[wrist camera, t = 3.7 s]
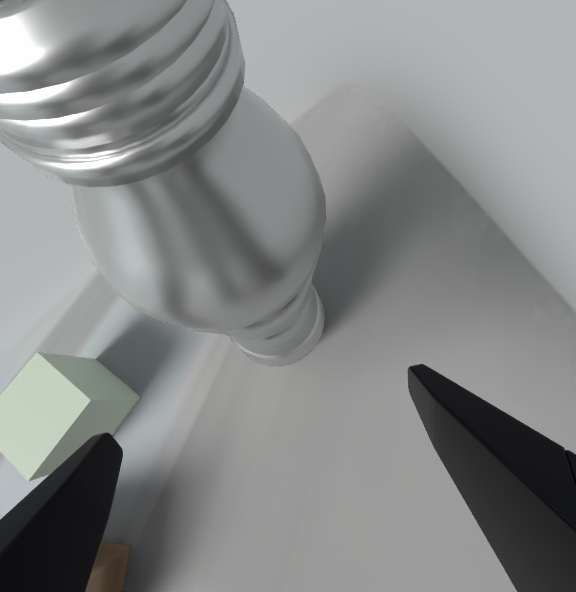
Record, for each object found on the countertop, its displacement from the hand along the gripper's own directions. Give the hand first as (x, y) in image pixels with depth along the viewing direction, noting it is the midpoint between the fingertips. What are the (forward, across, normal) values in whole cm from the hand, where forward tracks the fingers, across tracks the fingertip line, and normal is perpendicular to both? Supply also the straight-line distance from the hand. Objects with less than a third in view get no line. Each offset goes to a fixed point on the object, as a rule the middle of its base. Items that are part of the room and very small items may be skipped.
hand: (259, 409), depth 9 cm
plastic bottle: (+12, 0, +5) cm, 14 cm away
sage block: (+10, +15, +7) cm, 19 cm away
